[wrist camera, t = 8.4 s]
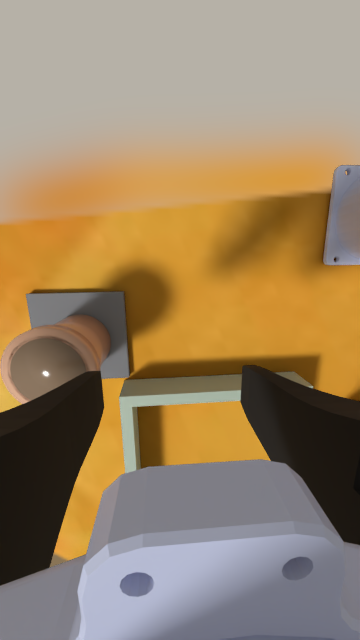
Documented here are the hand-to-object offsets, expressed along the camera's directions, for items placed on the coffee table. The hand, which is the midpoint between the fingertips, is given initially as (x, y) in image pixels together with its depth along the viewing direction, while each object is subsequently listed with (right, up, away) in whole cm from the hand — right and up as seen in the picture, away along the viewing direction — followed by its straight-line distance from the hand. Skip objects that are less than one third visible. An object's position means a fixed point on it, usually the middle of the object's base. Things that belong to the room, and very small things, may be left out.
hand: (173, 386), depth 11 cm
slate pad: (-8, +2, +9) cm, 13 cm away
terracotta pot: (-8, +1, +9) cm, 12 cm away
